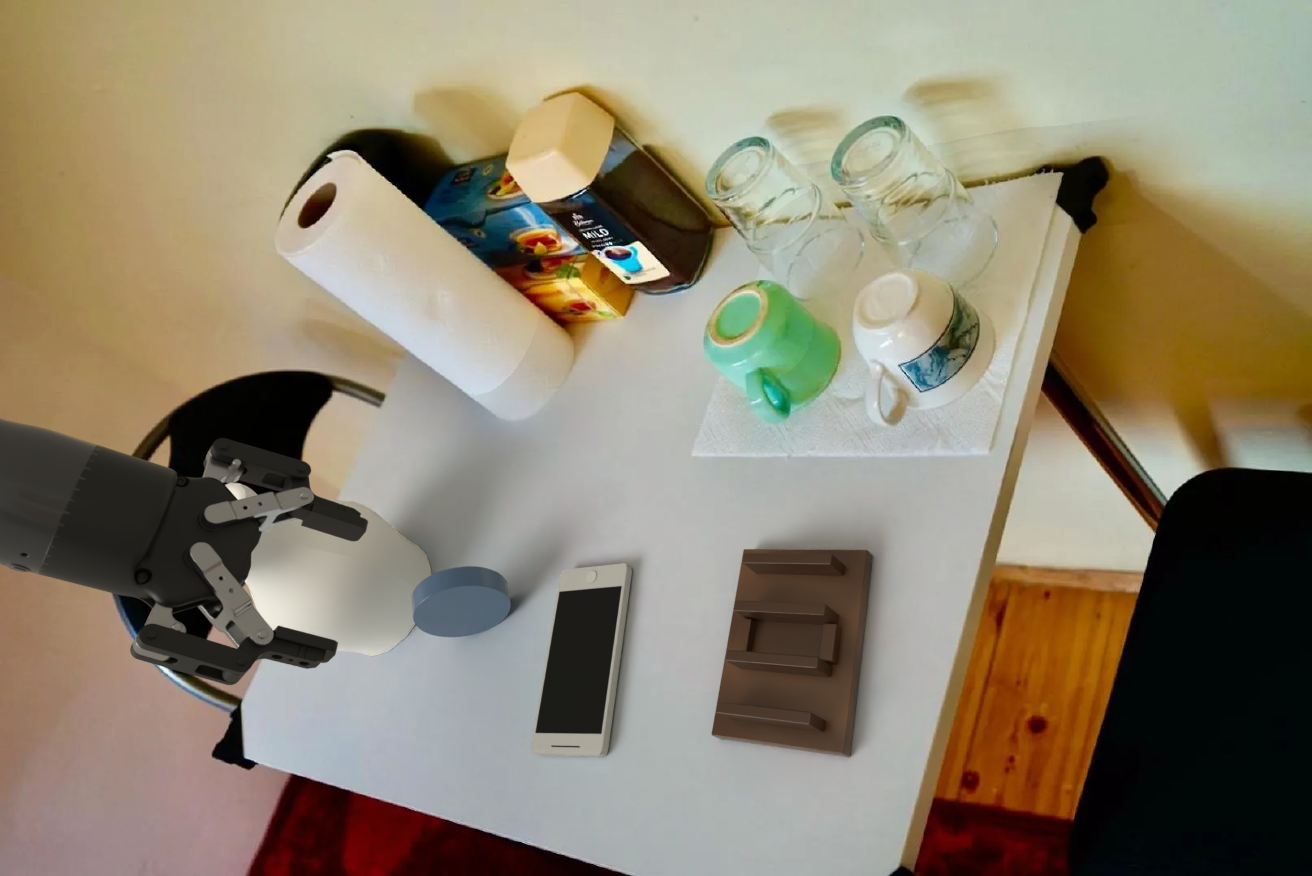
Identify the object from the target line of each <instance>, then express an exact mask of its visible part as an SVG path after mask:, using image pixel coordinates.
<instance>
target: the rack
mask: <svg viewBox="0 0 1312 876" xmlns="http://www.w3.org/2000/svg"><path fill="white" fill-rule="evenodd" d="M873 558H874V556H873V554H872V553H871V552H870V551H869V550H868V549H805V548H803V549H799V548H798V549H797V548H796V549H795V548H794V549H793V548H791V549H786V548H784V549H783V548H782V549H781V548H779V549H777V548H776V549H775V548H771V549H770V548H766V549H765V548H764V549H763V548H747V549H746V548H744V549H743V551H742V556H741V562H740V569H739V574H738V580H737V586H736V590H735V597H734V601H733V602H734V603H733V608H732V615H731V621H730V627H729V631H728V638H727V644H726V649H725V655H724V661H723V665H722V666H723V667H722V672H721V678H720V683H719V690H718V696H717V700H716V707H715V711H714V717H713V724H712V729H711V736H713V737H715V738H717V739H719V740H726V741H732V742H733V741H734V742H740V743H746V744H747V743H748V744H753V745H762V746H767V747H768V746H769V747H775V748H782V749H788V750H795V751H801V752H802V751H803V752H808V753H809V752H810V753H815V754H822V755H829V756H838V757H844V758H850V757H851V753H852V745H853V744H852V743H853V734H854V725H855V718H856V708H857V701H858V700H857V698H858V690H859V683H860V674H861V673H860V672H861V665H862V663H861V662H862V655H863V645H864V639H865V637H864V636H865V628H866V627H865V626H866V620H867V613H868V612H867V610H868V601H869V593H870V586H871V585H870V584H871V575H872V567H873Z"/></svg>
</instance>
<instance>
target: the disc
mask: <svg viewBox="0 0 1312 876" xmlns="http://www.w3.org/2000/svg"><path fill="white" fill-rule="evenodd" d="M509 589H510V588H509V584H508V581H507V579H506V578H505V577H504V576H503V575H502V574H501V573H499V572H498V571H496V570H493V569H491V568H487V567H483V566H474V565H467V566H466V565H465V566H464V565H463V566H455V567H449V568H446V569H442V570H440V571H437V572H434V573H433V574H431V576H429V577H427V578H425V579H424V580H423V581H421V582H420V583H419V584H418V585H417V586H416V588H415V589H414V591H413V594H412V612H413V621H414V623H415V625H414V626H416V628H418V630H420V631H422V632H423V633H425V634H428V635H431V636H434V637H441V638H462V637H469V636H473V635H477V634H480V633H483V632H486V631H488V630H491V629H492V628H494V627H496V626H497V625H499V624H500V623H501V622H503V621H504V619H505V618H506V617H508V615H509V613H510V611H511V608H512V602H511V596H510V590H509Z"/></svg>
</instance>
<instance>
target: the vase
mask: <svg viewBox="0 0 1312 876" xmlns="http://www.w3.org/2000/svg"><path fill="white" fill-rule="evenodd" d="M225 486H226V487H227V488H228V489H229V490H230V491H231V492H232V494H233V495H234V496H235V497H236V498H237V499H238V500H240V499H244V498H248V497H252V496H256V495H258V493H256V492H255V491H254V490H253V489H252V488H250V487H249V486H247V485H244V484H242V483H239V482H233V483H226V484H225ZM326 499H327V500H330V501H333V502H336V503H339V504H342V505H345V506H348V507H351V508H354V509H356V510H357V511H358V512H360V513H361V516H360V517H362V518H365V519H366V520H367V521H368V525H367V529H366V532H365V533H364V535H363V536H362V537H361V538H360V539H359V540H358V541H348V540H345V539H342V538H339V537H336V536H332V535H329V534H326V533H323V532H320V531H317V530H313V529H310V528H307V527H304V526H301V524H302V520H300V519H297V520H294V521H290V522H286V523H283V524H279V525H276V526H272V527H270V528H269V529H267V530H265V531H263V532H262V534H261V537H260V540H259V543H258V544H257V546H256V547H255V549H254V550H253V551H252V553H251V568H250V571H249V574H248V577H247V579H246V580H245V581H244V583H245V584H246V586H247V587H248V589H249V593H250V595H251V596H250V597H251V599H252V602H253V605H254V608H255V609H256V610H257V612H258V613H259V614H260V615H261V616H262V618H263V619H264V620H265V621H266V622H267V624H268V625H269V626H270V627H271V628H272V630H275V629H276V627H277V626H282V627H286V628H290V629H294V630H297V631H301V632H305V633H309V634H313V635H317V636H321V637H324V638H328V639H332V640H335V641H337V642H338V646H337V650H336V652H347V653H348V652H349V653H357V654H362V655H366V656H370V657H375V656H378V655H381V654H384V653H388V652H391V650H392V649H393V648H395V647H396V646H397V645H399V644H400V643H401V642H403V641H404V640H405V639H406V638H407V637H408V636H409V634H410V633H411V631H412V630H413V629H414V627H415V626H416V625H415V623H414V621H413V612H412V594H413V591H414V589H415V588H416V586H417V585H418V584H419V583H420V582H421V581H423V580H424V579H425V578H427V577H429V576H431V575H432V568H431V565H430V561H429V557H428V554H427V553H426V552H425V551H424V550H423V549H422V548H421V547H420V546H419V545H418V544H416V543H415V542H413V541H411V540H409V539H408V538H406V537H405V536H404V535H403V534H401V533H400V532H399V531H398V530H397V529H395V528H394V527H393V525H391V524H390V522H388V521H387V520H386V519H385V518H383V516H381V515H380V514H379V513H377V512H376V511H374V510H373V509H372V508H370V507H368V506H366V505H364V504H362V503H358V502H355V501H348V500H341V499H340V500H339V499H331V498H326Z"/></svg>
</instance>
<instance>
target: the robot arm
mask: <svg viewBox="0 0 1312 876" xmlns="http://www.w3.org/2000/svg"><path fill="white" fill-rule="evenodd" d="M203 466H204V471H203V474H202V476H201V477H189V476H185V475H183V474H180V473H179V472H177V471H176V470H174V469H172V468H171V467H168V466H164V465H161V464H158V463H155V462H152V461H149V460H146V459H142V458H140V457H137V456H133V455H131V454H127V453H124V452H121V451H119V450H115V449H112V448H108V447H107V446H103V445H99V444H96V443H93V442H90V441H87V440H84V439H81V438H77V437H74V436H71V435H68V434H64V433H61V432H58V431H55V430H52V429H49V428H46V427H41V426H35V425H31V424H27V423H21V422H20V423H19V422H16V421H11V420H8V419H3V418H0V565H1V566H4V567H7V568H9V570H13V571H16V572H19V573H32V574H37V575H40V576H44V577H48V578H51V579H55V580H60V581H63V582H68V583H71V584H74V585H75V584H76V585H79V586H83V587H87V588H91V589H95V590H98V591H103V592H106V593H109V594H110V593H111V594H114V595H119V596H124V597H130V598H131V597H132V598H136V599H138V600H139V601H142V602H144V603H145V604H146V605H148V607H150V608H151V611H150V613H149V615H148V617H147V619H146V622H145V623H144V625H143V626H142V627H141V628H140V630H139V631H138V633H137V634H136V637H135V639H134V640H133V642H132V643H131V645H130V648H129V651H130V654H131V656H132V658H134V659H136V660H138V661H142V662H146V663H149V664H153V665H156V666H160V667H162V668H166V669H170V670H174V671H176V672H181V673H184V674H187V675H190V676H194V677H198V678H201V679H204V680H209V681H212V682H214V683H215V682H216V683H219V684H222V685H226V686H234V685H237V683H238V682H239V681H241V680H242V678H243V677H244V676H245V675H246V674H247V673H248V672H249V670H251V668H252V667H253V665H254V664H255V662H257V661H259V660H269V661H273V662H276V663H280V664H285V665H289V666H293V667H298V668H302V669H306V670H308V669H315V668H317V667H318V666H320V665H321V664H327V663H328V662H330V661H331V660H332V659H333V658H334V657H335V656H336V654H337V651H336V650H337V646H338V642H337V641H335V640H332V639H328V638H324V637H321V636H317V635H313V634H309V633H305V632H301V631H297V630H294V629H290V628H286V627H282V626H277V627H276V629H275V630H272V628H271V627H270V626H269V625H268V624H267V622H266V621H265V620H264V619H263V618H262V616H261V615H260V614H259V612H258V611H257V609H256V607H255V605H254V601H253V599H252V596H250V595H249V593H248V592H247V591H246V590H245V589H244V587H243V584H244V583H245V582H244V581H245V580H246V579H247V577H248V574H249V571H250V568H251V553H252V551H253V550H254V549H255V547H256V546H257V544H258V543H259V540H260V537H261V534H262V532H263V531H265V530H267V529H269V528H270V527H272V526H276V525H279V524H283V523H286V522H290V521H294V520H297V519H300V520H302V524H301V526H304V527H307V528H310V529H313V530H317V531H320V532H323V533H326V534H329V535H332V536H336V537H339V538H342V539H345V540H348V541H358V540H359V539H360V538H361V537H362V536H363V535H364V533H365V532H366V529H367V525H368V521H367V520H366V519H365V518H362V517H360V516H361V513H360V512H358V511H357V510H356V509H354V508H351V507H348V506H345V505H342V504H339V503H336V502H333V501H330V500H327V499H328V498H324V497H321V496H318V495H316V494H315V492H313V491H312V488H311V482H310V475H311V473H312V467H311V466H310V464H309V463H308V462H306V461H304V460H300V459H298V458H294V457H290V456H287V455H284V454H280V453H278V452H277V453H276V452H273V451H270V450H267V449H263V448H261V447H257V446H253V445H249V444H246V443H242V442H239V441H236V440H233V439H230V438H226V437H219V438H217V439H215V440H214V441H213V443H212V445H211V446H210V447H209V450H208V451H207V454H206V456H205V459H204V461H203ZM238 481H240V482H245V483H248V484H251V485H254V486H255V485H256V486H259V487H262V488H266V489H270V490H274V491H277V492H274V491H267V492H264V493H261V494H257V495H256V496H252V497H248V498H244V499H240V500H238V499H237V498H236V497H235V496H234V495H233V494H232V492H231V491H230V490H229V489H228V488H227V487H226V486H225V485H226V484H228V483H237V482H238ZM225 483H226V484H225ZM193 608H198V609H199V610H200V612H201V613H202V614H203V615H204V616H205V618H206V619H207V620H208V621H209V623H210V624H211V625H212V626H213V627H214V629H215V630H217V631H218V632H219V633H223V634H224V635H225V636H226V637H227V639H228V640H229V641H230V642H231V643H232V644H233V646H234V647H233V646H229V645H227V644H223V643H219V642H218V641H217V642H216V641H213V640H210V639H206V638H203V637H200V636H197V635H194V634H190V633H188V632H187V627H186V626H185V624H183V623H182V622H181V621H178V620H177V619H176V618H175V617H174V616H173V615H174V614H178V613H180V612H183V611H184V612H185V611H187V610H190V609H193Z"/></svg>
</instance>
